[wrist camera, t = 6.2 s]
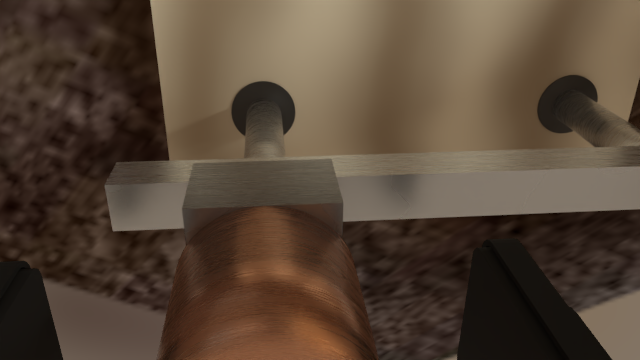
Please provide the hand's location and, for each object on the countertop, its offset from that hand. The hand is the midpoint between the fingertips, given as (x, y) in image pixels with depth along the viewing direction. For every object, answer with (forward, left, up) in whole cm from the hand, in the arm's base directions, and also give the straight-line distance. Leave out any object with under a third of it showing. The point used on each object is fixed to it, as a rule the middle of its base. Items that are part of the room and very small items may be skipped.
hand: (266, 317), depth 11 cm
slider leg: (0, 0, -14) cm, 14 cm away
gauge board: (-6, -3, -16) cm, 17 cm away
